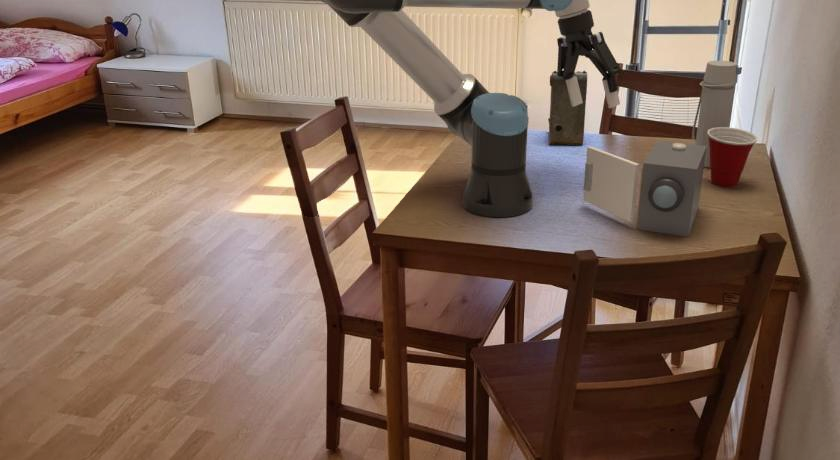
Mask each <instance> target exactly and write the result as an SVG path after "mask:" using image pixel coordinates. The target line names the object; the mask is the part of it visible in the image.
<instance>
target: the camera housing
mask: <svg viewBox="0 0 840 460" xmlns="http://www.w3.org/2000/svg"><path fill="white" fill-rule="evenodd" d="M706 148H707V146H702V145H695V144H692V143H691V144H690V143H683V142H682V143H681V142H673V141H672V142H671V141H662V140H656V142H655V144H654V145H653V146H652V148H651V150H650V152H649V153H648V154H647V156H646V158H645V160H644V161H643V164H642V168H641V173H640V174H641V175H640V185H639V192H638V193H639V194H638V204H637V205H638V206H637V213H636V216H637V219H636V220H637V222H636V230H641V231H647V232H655V233H660V234H668V235H674V236H682V237H687V238H688V237H689V236H690V233H691V230H692V228H693V225H694V222H695V219H696V217H697V214H698V211H699V205H700V198H701V192H702V191H701V190H702V185H703V184H702V183H703V175H704V170H705V169H704V168H705V167H704V162H705V155H706Z"/></svg>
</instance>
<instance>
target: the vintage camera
mask: <svg viewBox="0 0 840 460" xmlns="http://www.w3.org/2000/svg"><path fill="white" fill-rule="evenodd" d="M574 73H575V74H576V75H575V74H574V75H575V76H577V81H578V85H579V89H580V93H581V97H582V101H583V103H581V104H579V105H577V106H574V107H572V105H571V101H570V97H569V93H568V90H567V87H566V83H565V80H564V79H563V78H562V77H558V75H557V70H554V71H552V72H551V75H550V76H549V86H550V102H549V103H550V106H549V107H550V108H549V117H548V118H547V120H548V126H549V127H548V145H555V146H556V145H557V146H558V145H559V146H560V145H563V146H567V145H568V146H583V145H584V138H585V137H584V136H585V121H586V120H585V119H586V104H587V92H588V90H587V88H588V72H587V71H586V70H582V71H575V72H574ZM572 77H574V76H572Z"/></svg>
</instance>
